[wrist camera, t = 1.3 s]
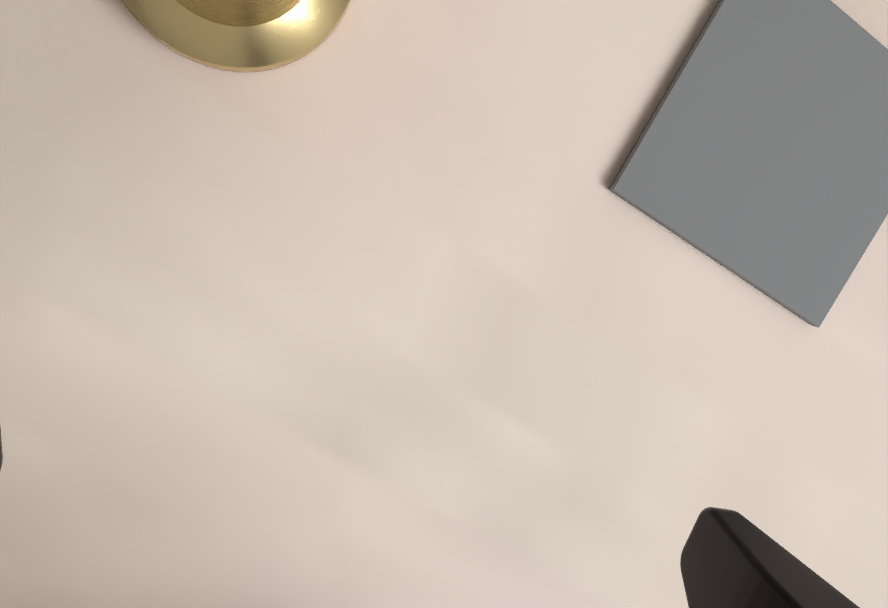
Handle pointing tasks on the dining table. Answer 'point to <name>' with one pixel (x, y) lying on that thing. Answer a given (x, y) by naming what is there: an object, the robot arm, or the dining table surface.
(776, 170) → the mat
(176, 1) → the brass pedestal cup
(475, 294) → the dining table surface
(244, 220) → the dining table surface
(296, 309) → the dining table surface
